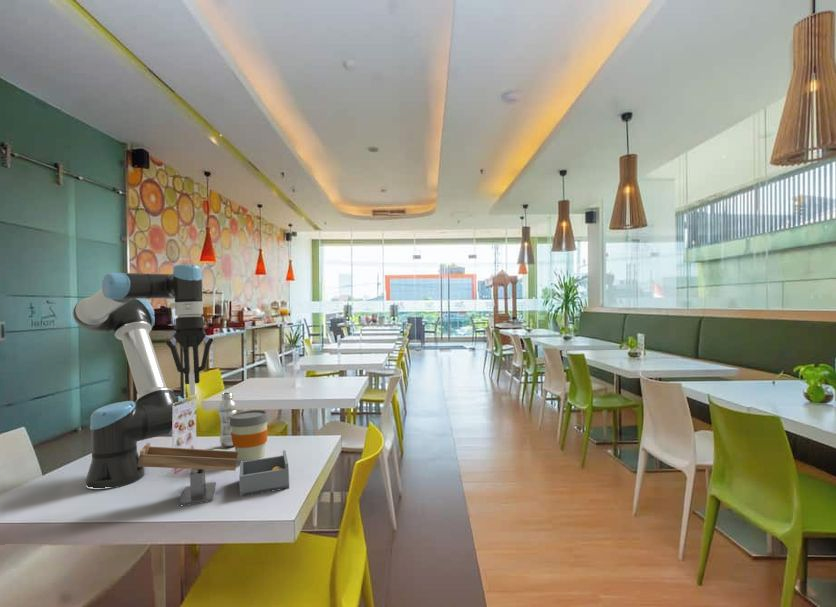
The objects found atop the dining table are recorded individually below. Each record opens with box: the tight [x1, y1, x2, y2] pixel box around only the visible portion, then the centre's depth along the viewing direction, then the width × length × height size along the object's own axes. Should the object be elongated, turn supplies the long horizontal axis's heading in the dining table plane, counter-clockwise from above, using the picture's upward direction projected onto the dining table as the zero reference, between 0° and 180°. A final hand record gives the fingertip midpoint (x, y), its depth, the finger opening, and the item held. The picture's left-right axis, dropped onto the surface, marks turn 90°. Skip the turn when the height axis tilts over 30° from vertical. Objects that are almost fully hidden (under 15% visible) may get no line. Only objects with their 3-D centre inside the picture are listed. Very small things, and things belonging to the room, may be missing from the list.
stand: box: [178, 469, 217, 507], centre depth 127 cm, size 12×8×7 cm, turn 20°
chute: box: [137, 442, 238, 474], centre depth 129 cm, size 17×24×5 cm
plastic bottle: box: [217, 391, 238, 448], centre depth 171 cm, size 6×7×20 cm
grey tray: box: [238, 450, 290, 497], centre depth 132 cm, size 13×13×7 cm
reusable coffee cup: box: [230, 409, 269, 462], centre depth 157 cm, size 13×12×15 cm
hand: (192, 394), depth 136 cm, fingers closed
